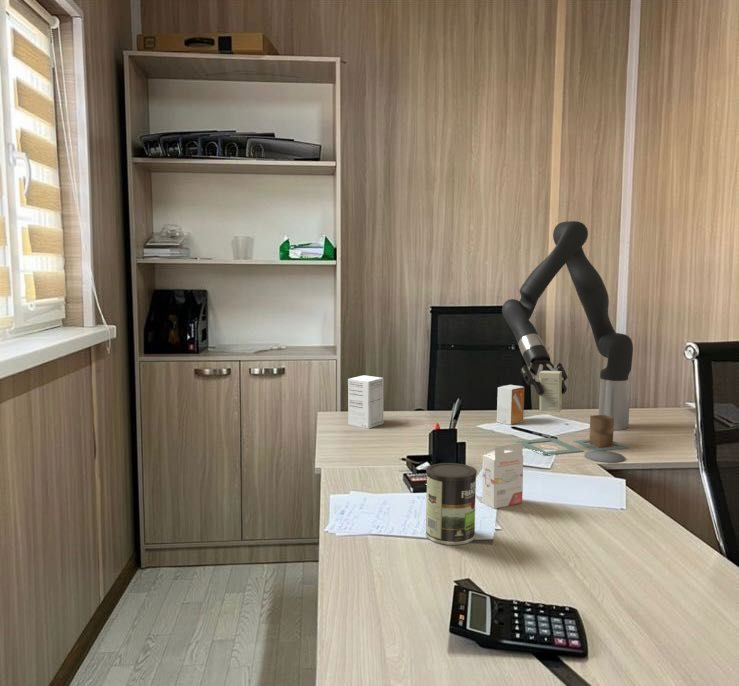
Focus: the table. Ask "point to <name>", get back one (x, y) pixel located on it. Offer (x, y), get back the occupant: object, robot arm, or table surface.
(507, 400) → the small box
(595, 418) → the walnut block
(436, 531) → the coffee can
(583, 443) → the frame
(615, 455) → the felt coaster
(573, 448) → the frame
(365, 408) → the supplement box
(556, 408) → the skincare box
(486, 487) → the ink cartridge box
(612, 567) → the table surface
